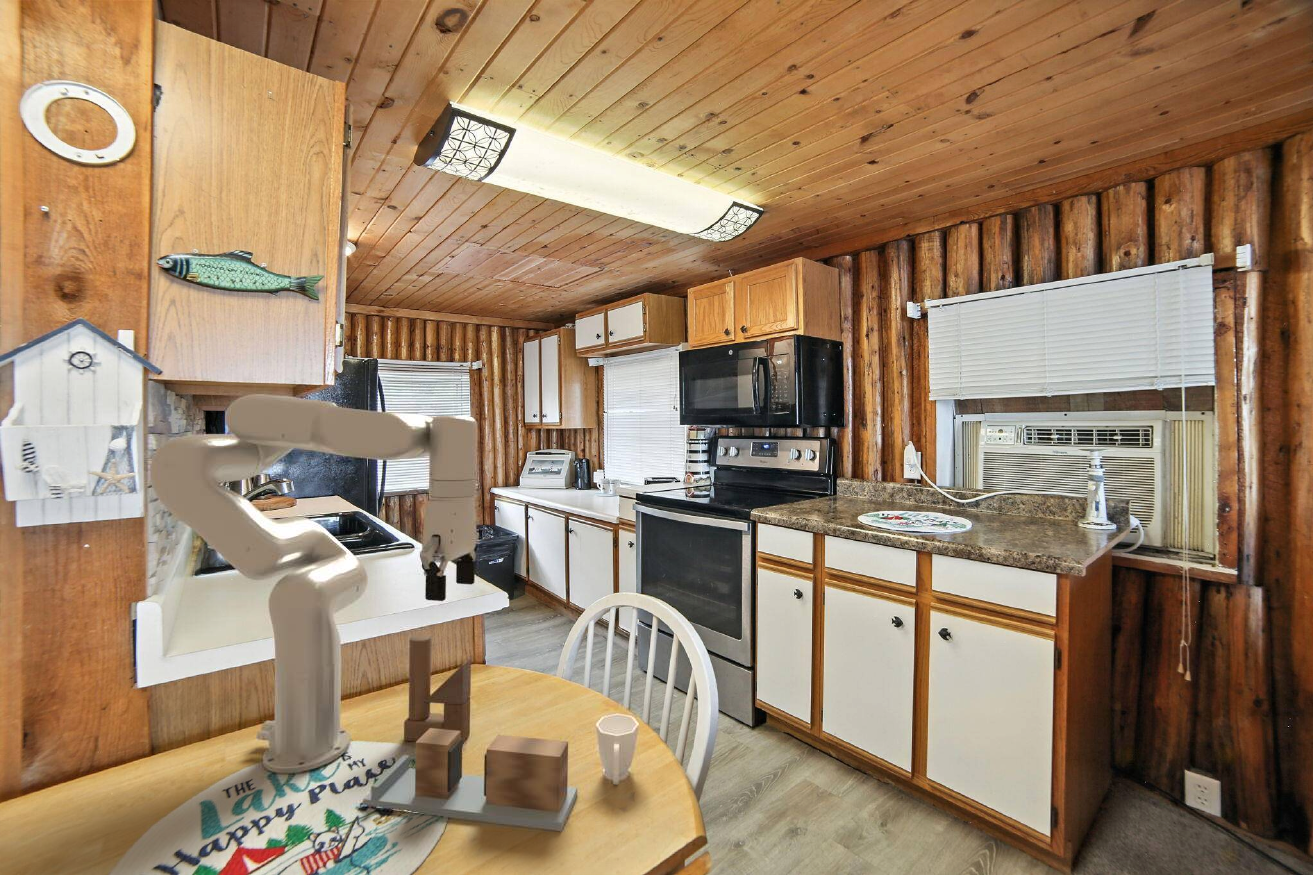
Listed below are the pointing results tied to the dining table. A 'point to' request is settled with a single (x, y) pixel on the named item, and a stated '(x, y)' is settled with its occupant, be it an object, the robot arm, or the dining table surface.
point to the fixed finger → (526, 773)
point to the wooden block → (435, 694)
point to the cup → (617, 744)
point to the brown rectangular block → (438, 763)
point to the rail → (460, 801)
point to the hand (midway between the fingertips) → (451, 591)
